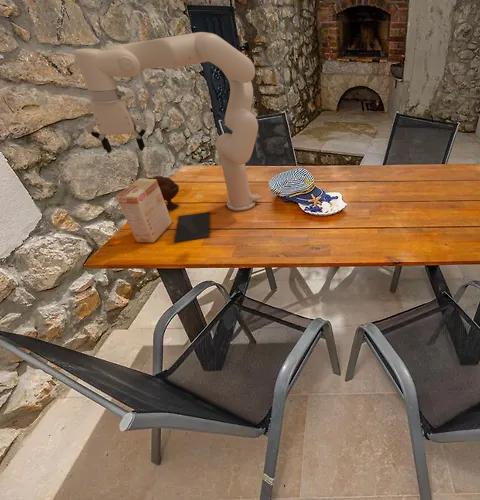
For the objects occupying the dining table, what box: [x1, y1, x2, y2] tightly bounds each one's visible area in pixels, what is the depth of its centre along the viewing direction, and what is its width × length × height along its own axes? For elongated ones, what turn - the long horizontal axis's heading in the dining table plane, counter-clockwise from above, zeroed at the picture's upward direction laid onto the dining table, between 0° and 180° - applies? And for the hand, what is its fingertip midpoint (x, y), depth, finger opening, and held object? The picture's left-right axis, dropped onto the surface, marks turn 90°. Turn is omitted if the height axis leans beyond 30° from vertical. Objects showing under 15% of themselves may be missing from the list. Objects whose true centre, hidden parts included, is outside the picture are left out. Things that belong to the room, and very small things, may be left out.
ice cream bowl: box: [151, 175, 180, 211], centre depth 138 cm, size 11×11×15 cm
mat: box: [174, 211, 210, 243], centre depth 130 cm, size 12×20×1 cm, turn 19°
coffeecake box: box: [115, 177, 173, 244], centre depth 120 cm, size 15×7×20 cm, turn 178°
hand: (126, 150), depth 108 cm, fingers open, 9 cm apart
